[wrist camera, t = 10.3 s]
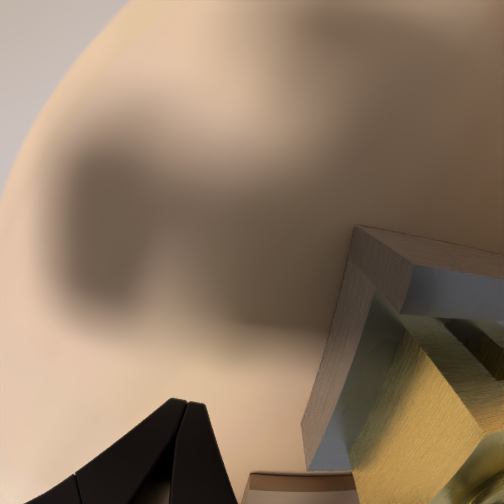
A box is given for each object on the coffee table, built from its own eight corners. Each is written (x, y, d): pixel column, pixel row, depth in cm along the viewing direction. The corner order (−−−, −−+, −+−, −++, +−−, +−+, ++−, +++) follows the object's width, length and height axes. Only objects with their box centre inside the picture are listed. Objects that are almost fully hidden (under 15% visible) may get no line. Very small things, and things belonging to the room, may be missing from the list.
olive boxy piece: (347, 455, 8) (376, 580, 4) (405, 328, 7) (510, 474, 2) (450, 443, 9) (497, 536, 4) (511, 332, 7) (604, 418, 2)
